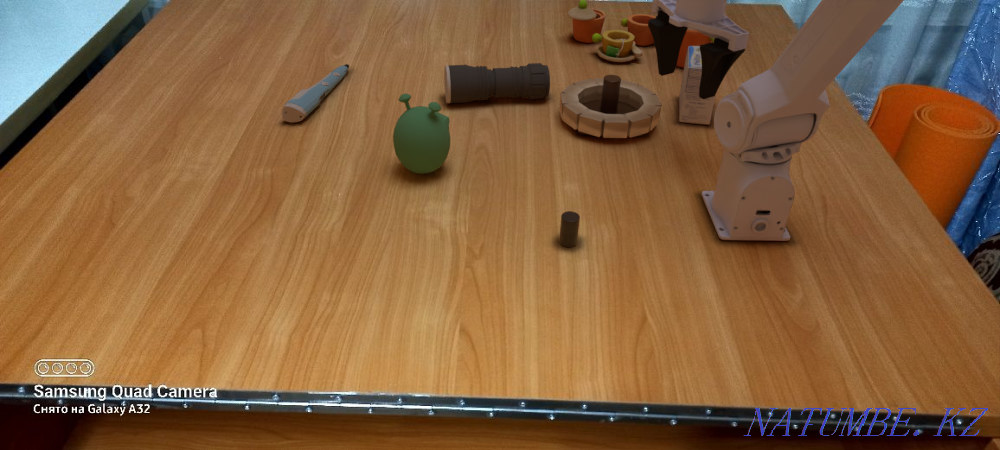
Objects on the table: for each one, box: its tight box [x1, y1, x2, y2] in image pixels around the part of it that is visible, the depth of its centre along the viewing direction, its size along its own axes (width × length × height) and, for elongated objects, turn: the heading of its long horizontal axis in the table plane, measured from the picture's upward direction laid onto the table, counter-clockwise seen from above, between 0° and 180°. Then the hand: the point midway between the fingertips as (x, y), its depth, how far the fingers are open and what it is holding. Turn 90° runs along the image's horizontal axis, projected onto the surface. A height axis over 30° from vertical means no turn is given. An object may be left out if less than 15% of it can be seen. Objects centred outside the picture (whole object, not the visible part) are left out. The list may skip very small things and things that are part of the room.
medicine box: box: [678, 46, 716, 126], centre depth 106 cm, size 8×4×9 cm, turn 168°
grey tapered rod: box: [281, 63, 350, 123], centre depth 109 cm, size 19×3×3 cm, turn 166°
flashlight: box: [443, 62, 551, 104], centre depth 109 cm, size 15×5×5 cm, turn 99°
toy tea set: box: [566, 0, 714, 69], centre depth 124 cm, size 26×16×10 cm, turn 84°
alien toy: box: [392, 93, 451, 175], centre depth 91 cm, size 7×8×10 cm
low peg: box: [558, 210, 581, 248], centre depth 81 cm, size 2×2×4 cm
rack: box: [577, 74, 645, 137], centre depth 104 cm, size 9×9×6 cm
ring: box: [559, 77, 663, 139], centre depth 104 cm, size 14×14×2 cm
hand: (686, 84), depth 94 cm, fingers open, 7 cm apart
